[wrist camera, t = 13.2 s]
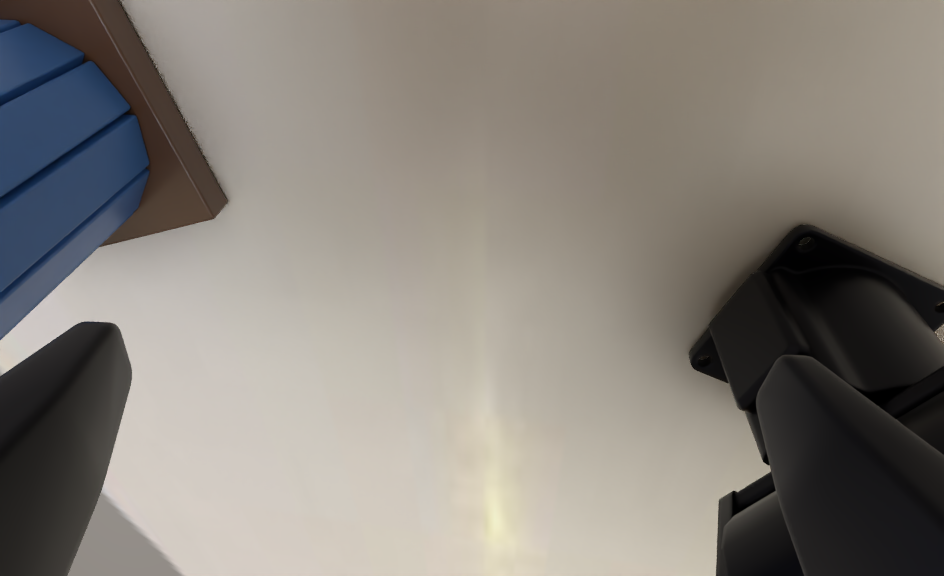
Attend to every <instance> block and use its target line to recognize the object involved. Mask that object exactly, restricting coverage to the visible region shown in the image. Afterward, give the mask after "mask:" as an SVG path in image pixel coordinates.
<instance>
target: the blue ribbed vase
mask: <svg viewBox="0 0 944 576" xmlns="http://www.w3.org/2000/svg"><path fill="white" fill-rule="evenodd" d="M83 58H84V53H83V52H82V51H80V50H78V49H76V48H74V47H72V46H70V45H69V44H67V43H65V42H63V41H61V40H59V39H58V38H56V37H54V36H52V35H50V34H48V33H46V32H45V31H43V30H41V29H39V28H37V27H35V26H34V25H32V24H30V23H27V24H24V25H21V24H20V22H19V21H16V20H0V340H1V339H2V338H3V337H4V336H5V335H6V334H8V333H9V332H10V331H11V330H12V329H13V328H14V327H15V326H16V325H17V324H18V323H19V322H20V321H21V320H22V319H23V318H24V317H25V316H26V315H28V314H29V313H30V312H31V311H32V310H33V309H34V308H35V307H36V306H37V305H38V304H39V303H40V302H41V301H42V300H43V299H44V298H45V297H46V296H48V295H49V294H50V293H51V292H52V291H53V290H54V289H55V288H56V287H57V286H58V285H59V284H60V283H61V282H62V281H63V280H64V279H65V278H66V277H68V276H69V275H70V274H71V273H72V272H73V271H74V270H75V269H76V268H77V267H78V266H79V265H80V264H81V263H82V262H83V261H84V260H85V259H86V258H88V257H89V256H90V255H91V254H92V253H93V252H94V251H95V250H96V249H97V248H98V247H99V246H100V245H101V244H102V243H103V242H104V241H105V240H106V239H108V238H109V237H110V236H111V235H112V234H113V233H114V232H115V231H116V230H117V229H118V228H119V227H120V226H121V225H122V224H123V223H124V222H125V221H126V220H128V219H129V218H130V217H131V216H132V215H133V212H134V211H135V210H136V209H137V208H138V206H139V203H140V200H141V197H142V194H143V191H144V188H145V185H146V182H147V179H148V176H149V170H147V169H146V167H147V166H148V165H149V163H150V162H149V158H148V155H147V151H146V148H145V144H144V141H143V137H142V134H141V130H140V127H139V123H138V120H137V116H136V115H123V114H124V113H125V112H127V111H128V110H130V105H129V104H128V102H127V101H126V100H125V99H124V98H123V96H122V95H121V94H120V93H119V92H118V90H117V89H116V88H115V87H114V86H113V85H112V83H111V82H110V81H109V80H108V79H107V77H106V76H105V75H104V74H103V73H102V71H101V70H100V69H99V68H98V67H97V65H96V64H95V63H94V62H93V61H88V62H86V63H84V64H82V63H83Z"/></svg>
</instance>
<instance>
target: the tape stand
mask: <svg viewBox="0 0 944 576" xmlns="http://www.w3.org/2000/svg"><path fill="white" fill-rule="evenodd" d="M0 20H16V21H19V22H20V24H21V25H24V24H27V23H30V24H32V25H34V26H35V27H37V28H39V29H41V30H43V31H45V32H46V33H48V34H50V35H52V36H54V37H56V38H58V39H59V40H61V41H63V42H65V43H67V44H69V45H70V46H72V47H74V48H76V49H78V50H80V51H82V52H83V53H84V58H83V63H82V64H84V63H86V62H88V61H93V62H94V63H95V64H96V65H97V67H98V68H99V69H100V70H101V71H102V73H103V74H104V75H105V76H106V77H107V79H108V80H109V81H110V82H111V83H112V85H113V86H114V87H115V88H116V89H117V90H118V92H119V93H120V94H121V95H122V96H123V98H124V99H125V100H126V101H127V102H128V104H129V105H130V110H128V111H127V112H125V113H124V114H123V115H136V116H137V120H138V123H139V127H140V130H141V134H142V137H143V141H144V144H145V148H146V151H147V155H148V158H149V162H150V163H149V165H148V166H147V167H146V169H147V170H149V176H148V179H147V182H146V185H145V188H144V191H143V194H142V197H141V200H140V203H139V206H138V208H137V209H136V210H135V211H134V212H133V215H132V216H131V217H130V218H129V219H128V220H126V221H125V222H124V223H123V224H122V225H121V226H120V227H119V228H118V229H117V230H116V231H115V232H114V233H113V234H112V235H111V236H110V237H109V238H108V239H106V240H105V241H104V242H103V243H102V244H101V245H100V246H99V247H102V246H106V245H110V244H114V243H118V242H122V241H126V240H130V239H134V238H138V237H142V236H147V235H151V234H155V233H159V232H163V231H167V230H171V229H175V228H179V227H183V226H187V225H191V224H195V223H199V222H203V221H208V220H212V219H214V218H216V216H217V215H218V214H219V213H220V211H221V210H222V209H223V208H224V207H225V205H226V204H227V200H226V198H225V196H224V195H223V193H222V191H221V189H220V187H219V185H218V184H217V182H216V180H215V178H214V176H213V174H212V173H211V171H210V169H209V167H208V165H207V163H206V161H205V160H204V158H203V156H202V154H201V152H200V150H199V149H198V147H197V145H196V143H195V141H194V139H193V138H192V136H191V134H190V132H189V130H188V128H187V126H186V125H185V123H184V121H183V119H182V117H181V115H180V114H179V112H178V110H177V108H176V106H175V104H174V103H173V101H172V99H171V97H170V95H169V93H168V91H167V90H166V88H165V86H164V84H163V82H162V80H161V79H160V77H159V75H158V73H157V71H156V69H155V68H154V66H153V64H152V62H151V60H150V58H149V56H148V55H147V53H146V51H145V49H144V47H143V45H142V44H141V42H140V40H139V38H138V36H137V34H136V33H135V31H134V29H133V27H132V25H131V23H130V21H129V20H128V18H127V16H126V14H125V12H124V10H123V9H122V7H121V5H120V3H119V1H118V0H0Z"/></svg>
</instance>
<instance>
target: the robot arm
mask: <svg viewBox="0 0 944 576" xmlns="http://www.w3.org/2000/svg"><path fill="white" fill-rule="evenodd" d="M807 237H810V238H811V239H810V240H809V242H807V243H806V244H803V245H799V242H800V241H801V240H802V239H803V238H807ZM943 301H944V287H943V286H941V285H939V284H937V283H935V282H932V281H930V280H928V279H926V278H924V277H922V276H920V275H917V274H915V273H913V272H911V271H909V270H907V269H905V268H902V267H900V266H898V265H896V264H894V263H892V262H890V261H887V260H885V259H883V258H881V257H879V256H877V255H875V254H873V253H870V252H868V251H866V250H864V249H862V248H860V247H858V246H855V245H853V244H851V243H849V242H847V241H845V240H843V239H840V238H838V237H836V236H834V235H832V234H830V233H828V232H825V231H823V230H821V229H819V228H817V227H815V226H812V225H808V224H806V225H800V226H798V227H795V228H794V229H793V230H791V231H790V232H789V233H788V235H787V236H786V237H785V238H784V239H783V241H782V242H781V243H780V244H779V245H778V247H777V248H776V249H775V250H774V251H773V252H772V254H771V255H770V256H769V257H768V258H767V260H766V261H765V262H764V263H763V264H762V266H761V267H760V268H759V269H758V270H757V272H755V273H753V274H751V275H750V276H749V277H748V278H747V280H746V281H745V282H744V283H743V284H742V286H741V287H740V288H739V289H738V290H737V292H736V293H735V294H734V295H733V296H732V298H731V299H730V300H729V301H728V302H727V304H726V305H725V306H724V307H723V308H722V310H721V311H720V312H719V313H718V314H717V315H716V317H715V318H714V319H713V320H712V321H711V323H710V324H709V329H708V330H707V331H706V332H705V333H704V335H703V336H702V337H701V338H700V339H699V341H698V342H697V343H696V344H695V345H694V347H693V348H692V349H691V350H690V352H689V360H690V363H691V365H692V367H693V368H694V369H695V370H697V371H699V372H702V373H704V374H706V375H709V376H711V377H714V378H716V379H719V380H721V381H724V382H726V383H729V385H730V388H731V391H732V393H733V396H734V399H735V402H736V405H737V407H738V408H739V409H740V410H742V411H745V414H746V416H747V419H748V422H749V424H750V427H751V430H752V433H753V435H754V438H755V441H756V443H757V446H758V449H759V452H760V454H761V457H762V460H763V462H764V463H766V464H767V465H770V468H771V472H770V473H768V474H767V475H765V476H763V477H762V478H760V479H758V480H757V481H755V482H753V483H752V484H750V485H749V486H747V487H745V488H744V489H742V490H740V491H739V492H736V491H732V492H731V493H729V494H727V495H726V496H724V497H722V498H721V499H719V511H718V538H717V565H716V576H944V344H943V343H942V342H941V340H940V339H939V338H938V337H937V335H936V334H935V333H934V332H935V331H936V330H937V329H938V328H939V327H940V326H941V325H942V324H943V323H944V303H943V304H941V305H940V306H937V304H939V303H940V302H943ZM703 356H709V357H708V358H706V359H703V360H701V359H699V358H701V357H703ZM131 380H132V369H131V364H130V361H129V358H128V354H127V351H126V348H125V344H124V341H123V338H122V334H121V332H120V329H119V328H118V326H117V325H115V324H113V323H108V322H81V323H79V324H77V325H75V326H73V327H72V328H70V329H69V330H67V331H66V332H65V333H63V334H62V335H60V336H59V337H57V338H56V339H54V340H53V341H51V342H50V343H48V344H47V345H46V346H44V347H43V348H41V349H40V350H38V351H37V352H35V353H34V354H32V355H31V356H29V357H28V358H26V359H25V360H24V361H22V362H21V363H19V364H18V365H16V366H15V367H13V368H12V369H10V370H9V371H7V372H6V373H5V374H3V375H2V376H0V576H67V575H68V573H69V570H70V568H71V565H72V563H73V560H74V558H75V556H76V553H77V551H78V548H79V546H80V543H81V540H82V538H83V536H84V533H85V531H86V529H87V526H88V524H89V521H90V519H91V516H92V514H93V511H94V509H95V506H96V504H97V501H98V498H99V496H100V493H101V490H102V487H103V484H104V480H105V477H106V474H107V470H108V466H109V463H110V459H111V455H112V452H113V448H114V444H115V441H116V437H117V433H118V430H119V426H120V422H121V419H122V415H123V411H124V408H125V404H126V401H127V397H128V393H129V390H130V386H131Z"/></svg>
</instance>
